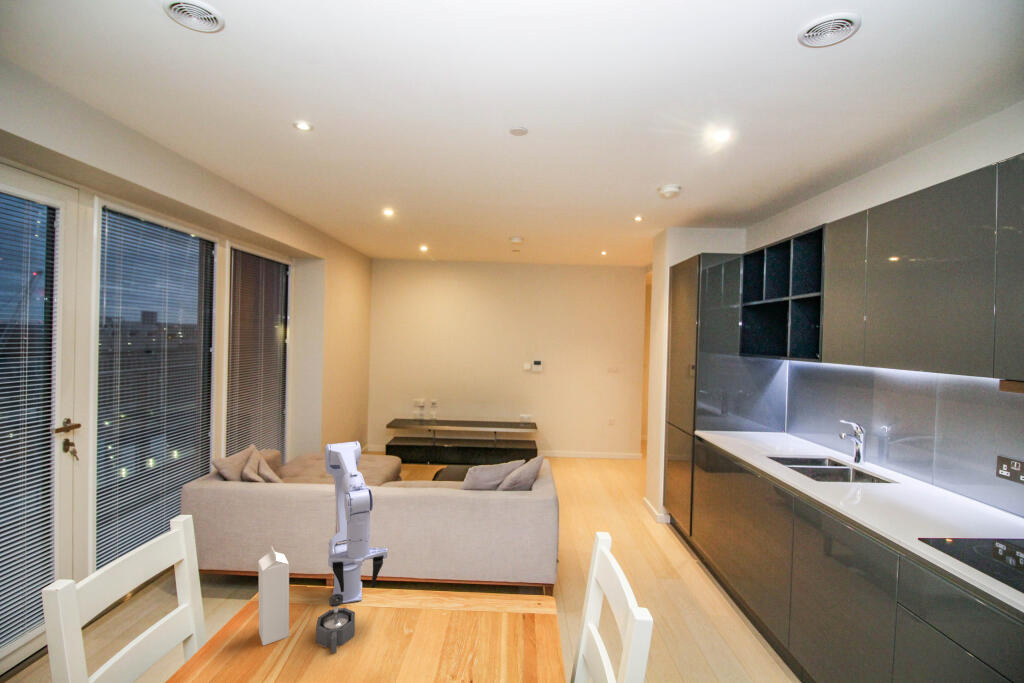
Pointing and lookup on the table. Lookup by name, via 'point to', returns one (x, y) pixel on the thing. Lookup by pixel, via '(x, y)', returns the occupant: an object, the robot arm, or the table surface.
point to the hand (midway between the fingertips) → (358, 587)
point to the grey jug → (335, 630)
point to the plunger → (335, 614)
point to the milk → (273, 597)
